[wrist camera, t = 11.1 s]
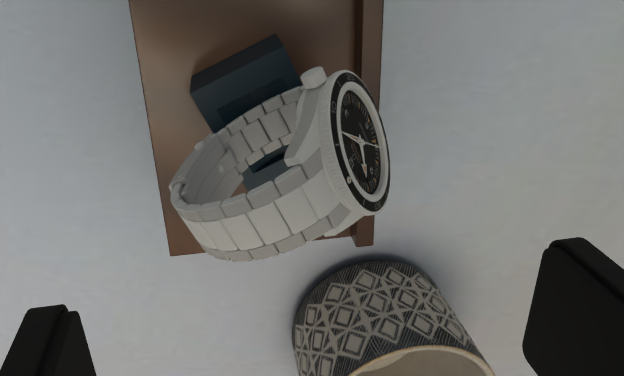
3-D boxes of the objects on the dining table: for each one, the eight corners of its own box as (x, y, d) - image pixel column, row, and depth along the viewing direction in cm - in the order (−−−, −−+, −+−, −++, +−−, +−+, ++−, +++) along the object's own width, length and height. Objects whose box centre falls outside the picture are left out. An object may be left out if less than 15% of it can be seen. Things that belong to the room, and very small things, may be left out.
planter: (264, 357, 42) (280, 473, 33) (331, 232, 38) (371, 325, 29) (392, 386, 47) (437, 496, 37) (464, 276, 43) (536, 370, 33)
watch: (357, 116, 26) (447, 221, 16) (216, 187, 26) (222, 331, 17) (312, 12, 23) (387, 63, 14) (156, 91, 24) (122, 196, 14)
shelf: (138, -74, 28) (110, -79, 19) (337, -77, 29) (388, -83, 21) (177, 191, 35) (168, 269, 26) (336, 177, 36) (373, 245, 28)
